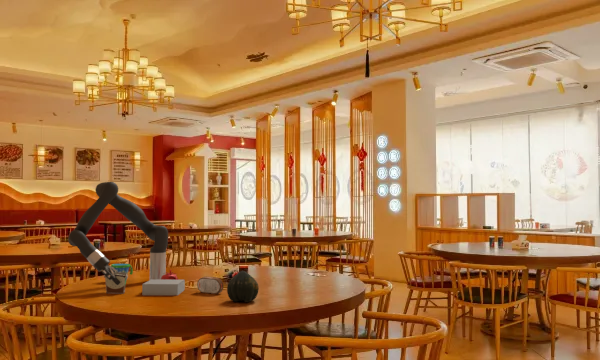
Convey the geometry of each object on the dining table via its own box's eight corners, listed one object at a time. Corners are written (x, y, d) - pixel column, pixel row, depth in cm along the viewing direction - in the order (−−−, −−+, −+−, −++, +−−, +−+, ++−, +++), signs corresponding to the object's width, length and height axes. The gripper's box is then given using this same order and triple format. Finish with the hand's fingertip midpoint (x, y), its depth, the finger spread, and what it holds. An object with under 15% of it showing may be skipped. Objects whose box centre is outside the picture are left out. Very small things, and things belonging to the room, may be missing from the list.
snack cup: (128, 279, 314) (128, 262, 314) (136, 281, 306) (136, 264, 306) (103, 281, 303) (103, 264, 303) (111, 283, 295) (111, 266, 296)
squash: (241, 294, 233) (254, 267, 242) (217, 292, 240) (230, 266, 250) (256, 311, 241) (268, 284, 250) (231, 308, 249) (244, 283, 258)
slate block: (151, 290, 275) (151, 279, 275) (184, 290, 275) (184, 279, 275) (142, 295, 259) (142, 284, 259) (177, 296, 259) (177, 284, 259)
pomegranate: (156, 287, 284) (157, 270, 285) (167, 284, 293) (168, 268, 294) (171, 288, 280) (171, 271, 281) (182, 285, 290) (182, 269, 290)
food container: (131, 291, 269) (132, 272, 269) (126, 293, 263) (126, 274, 263) (109, 291, 270) (109, 272, 271) (103, 293, 264) (104, 273, 264)
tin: (223, 294, 264) (223, 277, 264) (220, 295, 261) (220, 278, 261) (199, 291, 270) (200, 275, 271) (196, 292, 267) (196, 276, 268)
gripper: (99, 256, 259) (123, 279, 260) (107, 254, 274) (129, 275, 274) (88, 267, 259) (112, 290, 259) (96, 263, 273) (119, 285, 273)
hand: (120, 282), depth 267 cm, fingers closed on food container, 6 cm apart
